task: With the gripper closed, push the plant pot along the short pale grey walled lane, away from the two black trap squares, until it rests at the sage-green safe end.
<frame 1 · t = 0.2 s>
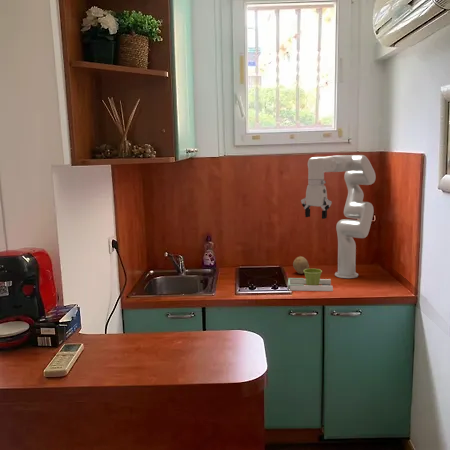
hand: (315, 217, 229), 36 cm above the countertop, tool pointing down, fingers open, 9 cm apart
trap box: (309, 287, 238), on the countertop
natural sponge: (300, 273, 266), on the countertop
plant pot: (312, 287, 238), on the countertop
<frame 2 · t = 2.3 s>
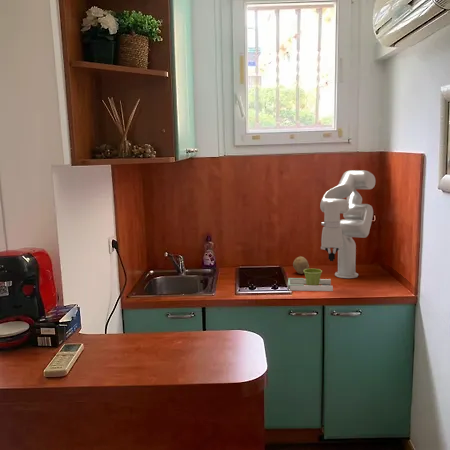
hand: (331, 260, 234), 14 cm above the countertop, tool pointing down, fingers closed
nothing on the countertop moved.
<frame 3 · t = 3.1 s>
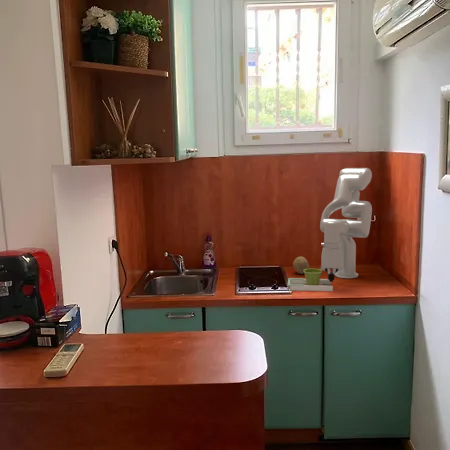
hand: (331, 281, 235), 3 cm above the countertop, tool pointing down, fingers closed
nothing on the countertop moved.
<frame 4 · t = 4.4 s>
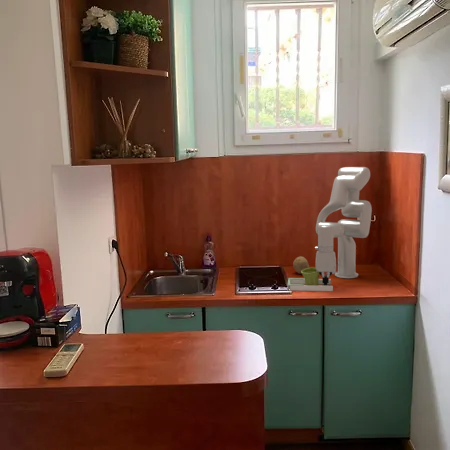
hand: (325, 284, 237), 2 cm above the countertop, tool pointing down, fingers closed
plant pot: (312, 286, 238), on the countertop, touching gripper
everything else where it was.
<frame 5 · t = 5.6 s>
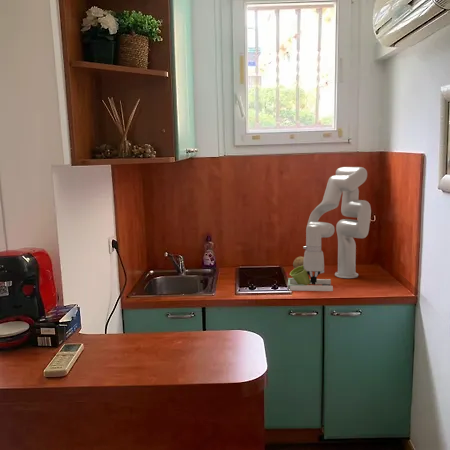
hand: (313, 283, 237), 2 cm above the countertop, tool pointing down, fingers closed
plant pot: (305, 285, 238), point 1 cm above the countertop, touching gripper
everything else where it was.
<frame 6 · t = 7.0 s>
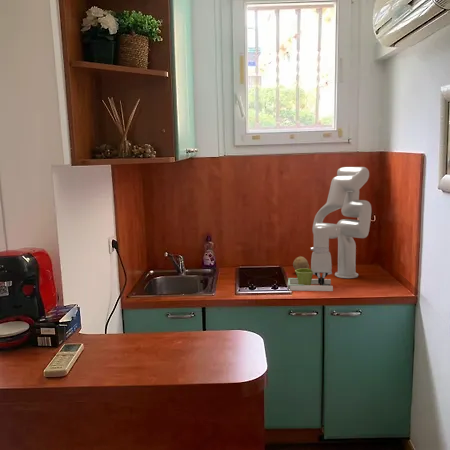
hand: (321, 285, 238), 1 cm above the countertop, tool pointing down, fingers closed
plant pot: (304, 287, 239), on the countertop
everything else where it was.
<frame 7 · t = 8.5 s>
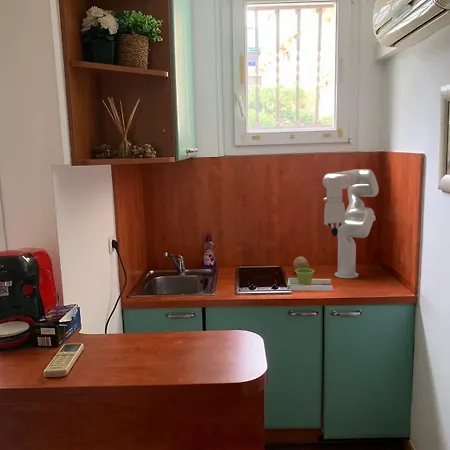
hand: (334, 235, 238), 26 cm above the countertop, tool pointing down, fingers closed
nothing on the countertop moved.
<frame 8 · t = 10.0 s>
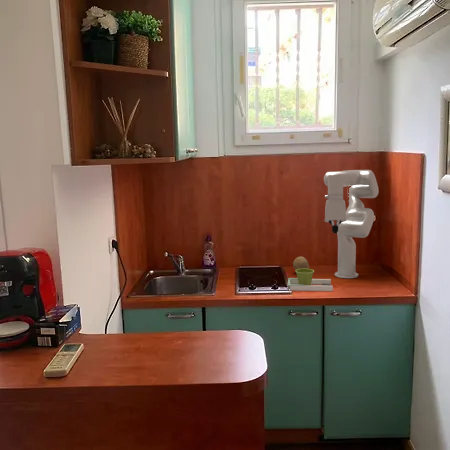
hand: (335, 233, 238), 27 cm above the countertop, tool pointing down, fingers closed
nothing on the countertop moved.
at the end: plant pot inside the target area (2.9 cm from its centre), on the countertop; plant pot tilted 0°; plant pot moved 4.1 cm from its start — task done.
